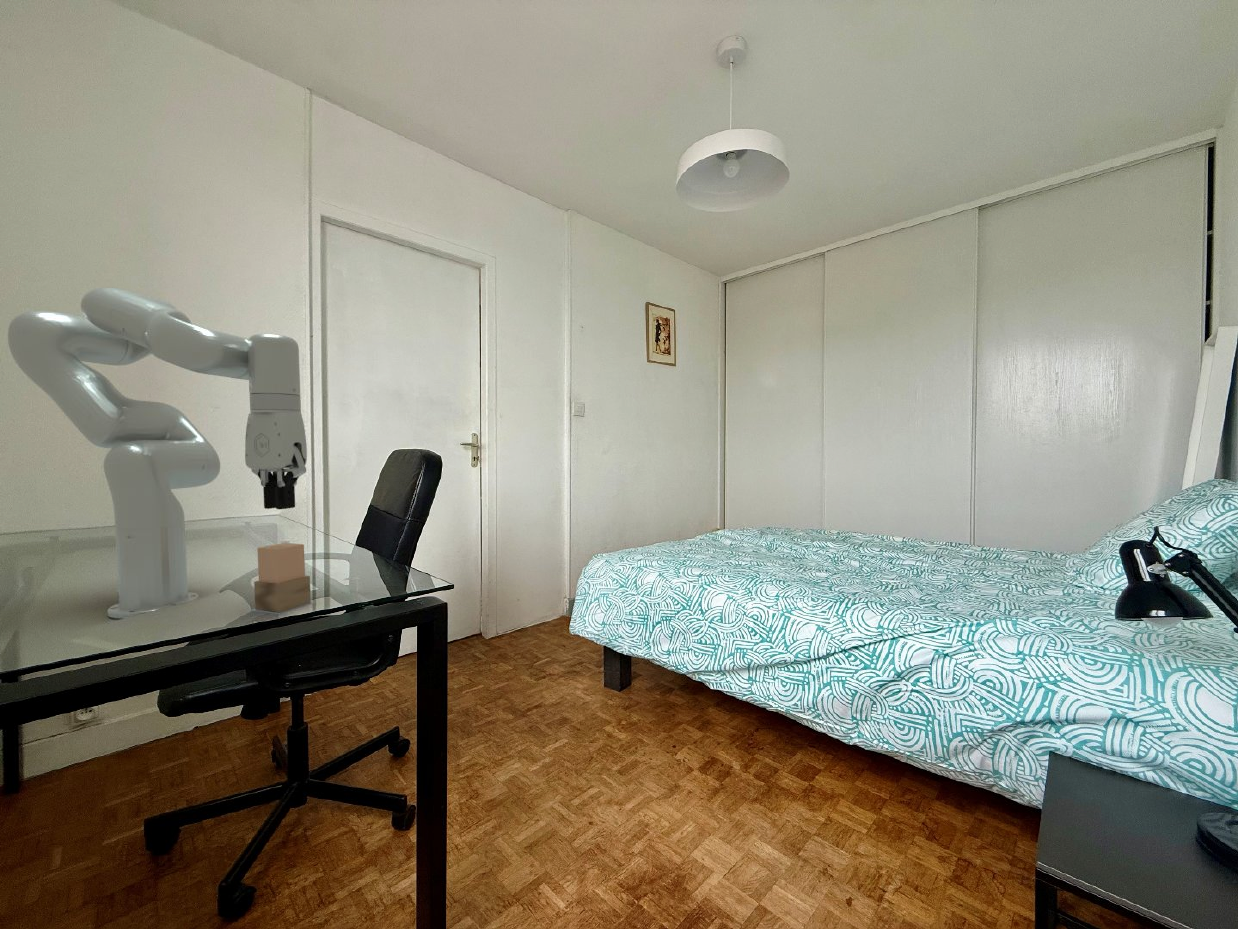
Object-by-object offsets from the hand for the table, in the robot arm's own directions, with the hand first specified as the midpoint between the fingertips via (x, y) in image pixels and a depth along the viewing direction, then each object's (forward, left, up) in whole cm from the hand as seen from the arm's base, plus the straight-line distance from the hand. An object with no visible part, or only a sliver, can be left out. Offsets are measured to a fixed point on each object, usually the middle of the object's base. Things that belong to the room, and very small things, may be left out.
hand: (279, 507), depth 90 cm
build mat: (0, 0, -19) cm, 19 cm away
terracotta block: (0, 0, -13) cm, 13 cm away
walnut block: (0, 0, -18) cm, 18 cm away
